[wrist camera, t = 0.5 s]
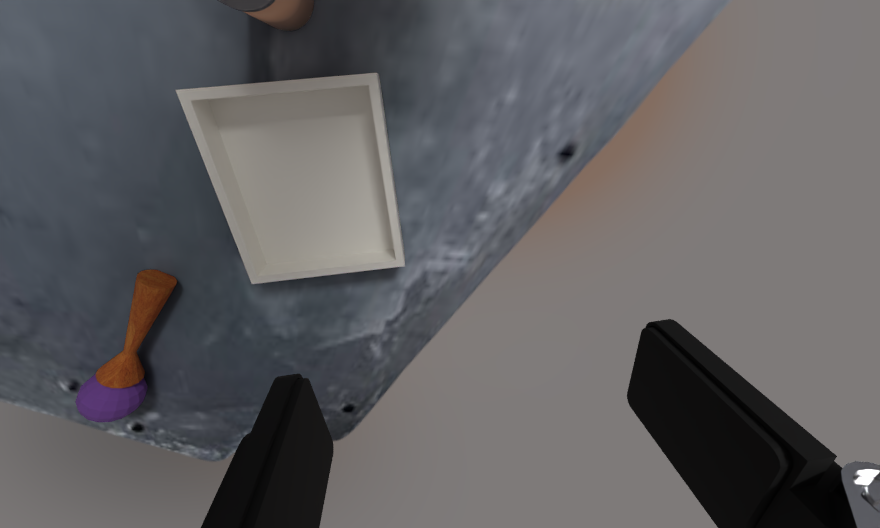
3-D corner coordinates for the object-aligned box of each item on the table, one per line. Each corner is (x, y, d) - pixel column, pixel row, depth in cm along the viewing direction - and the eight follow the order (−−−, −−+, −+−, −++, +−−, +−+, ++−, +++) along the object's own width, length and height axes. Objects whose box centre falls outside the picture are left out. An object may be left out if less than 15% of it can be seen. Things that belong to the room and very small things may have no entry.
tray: (199, 90, 29) (175, 90, 26) (379, 74, 30) (376, 72, 27) (264, 268, 37) (251, 284, 34) (404, 252, 38) (404, 266, 35)
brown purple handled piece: (181, 303, 34) (125, 436, 39) (198, 274, 39) (147, 396, 44) (105, 284, 31) (56, 430, 36) (135, 255, 36) (88, 387, 41)
